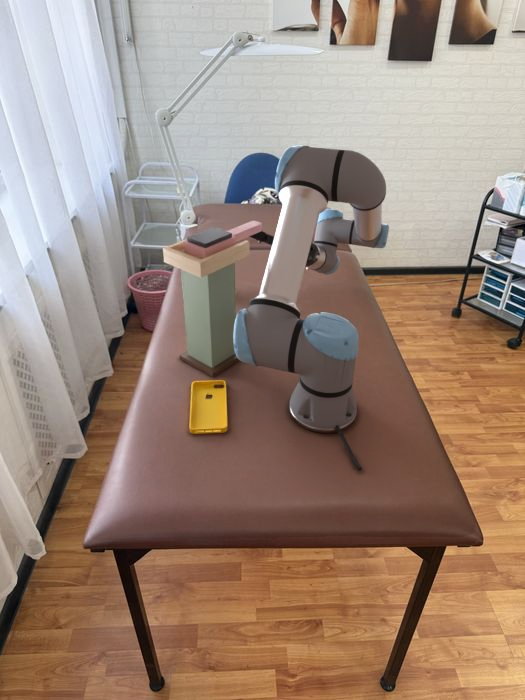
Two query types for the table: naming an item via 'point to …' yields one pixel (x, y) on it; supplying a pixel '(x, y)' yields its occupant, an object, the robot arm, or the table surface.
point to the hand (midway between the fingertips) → (269, 238)
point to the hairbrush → (218, 239)
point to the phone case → (208, 407)
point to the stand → (208, 304)
